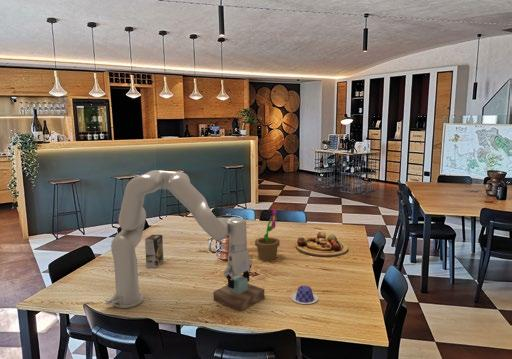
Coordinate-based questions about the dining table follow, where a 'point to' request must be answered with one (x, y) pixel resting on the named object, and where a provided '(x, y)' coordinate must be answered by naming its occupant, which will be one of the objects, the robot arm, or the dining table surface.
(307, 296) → the pudding
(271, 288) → the dining table surface
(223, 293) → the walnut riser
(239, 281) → the teal cube
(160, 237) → the coffee box
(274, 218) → the flowerpot
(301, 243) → the wooden plate with food
